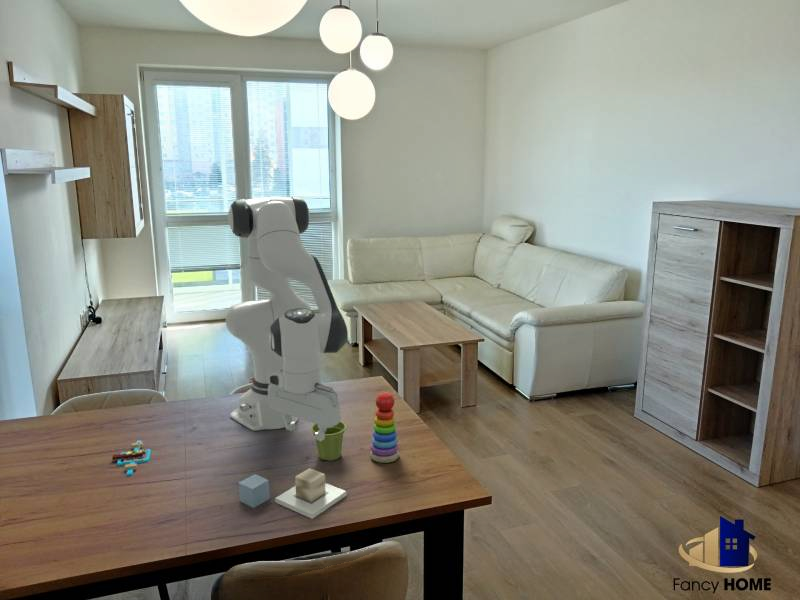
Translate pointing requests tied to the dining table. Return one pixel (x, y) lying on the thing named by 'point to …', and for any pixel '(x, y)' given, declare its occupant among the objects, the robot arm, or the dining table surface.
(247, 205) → the robot arm
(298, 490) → the maple block
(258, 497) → the slate blue block
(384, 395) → the stacking toy
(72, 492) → the dining table surface
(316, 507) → the plate
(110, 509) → the dining table surface
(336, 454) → the plant pot
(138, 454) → the gear mechanism
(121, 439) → the dining table surface
